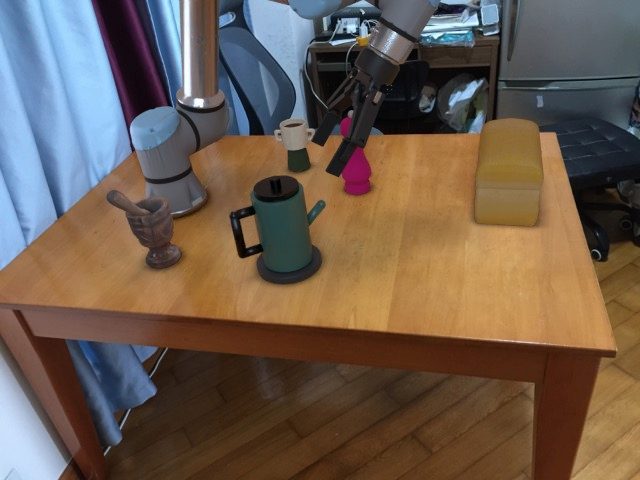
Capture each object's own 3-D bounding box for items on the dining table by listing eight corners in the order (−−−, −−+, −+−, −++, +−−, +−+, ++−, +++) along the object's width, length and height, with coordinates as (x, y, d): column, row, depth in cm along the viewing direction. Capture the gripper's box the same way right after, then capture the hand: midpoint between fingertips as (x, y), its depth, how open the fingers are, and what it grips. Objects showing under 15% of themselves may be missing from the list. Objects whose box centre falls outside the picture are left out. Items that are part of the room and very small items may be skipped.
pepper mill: (376, 183, 135) (372, 105, 124) (366, 197, 130) (360, 117, 119) (349, 180, 138) (343, 104, 127) (338, 194, 133) (330, 115, 122)
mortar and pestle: (169, 280, 110) (140, 193, 99) (130, 280, 112) (97, 194, 101) (189, 248, 120) (165, 165, 109) (152, 248, 121) (125, 167, 111)
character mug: (321, 162, 149) (316, 116, 142) (316, 174, 143) (311, 127, 136) (283, 163, 151) (276, 118, 144) (277, 174, 146) (269, 128, 139)
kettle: (320, 232, 116) (310, 155, 106) (340, 254, 108) (331, 174, 98) (235, 260, 110) (216, 182, 101) (250, 286, 103) (231, 204, 93)
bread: (478, 171, 135) (481, 113, 126) (534, 173, 131) (541, 113, 123) (472, 223, 115) (475, 158, 107) (538, 227, 112) (546, 160, 103)
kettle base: (271, 244, 117) (269, 238, 117) (328, 248, 114) (328, 242, 113) (247, 281, 107) (246, 275, 106) (310, 287, 103) (309, 281, 102)
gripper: (347, 29, 103) (295, 125, 112) (387, 65, 83) (320, 180, 91) (379, 47, 107) (326, 140, 115) (425, 87, 86) (357, 196, 95)
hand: (324, 158), depth 103 cm, fingers open, 13 cm apart
